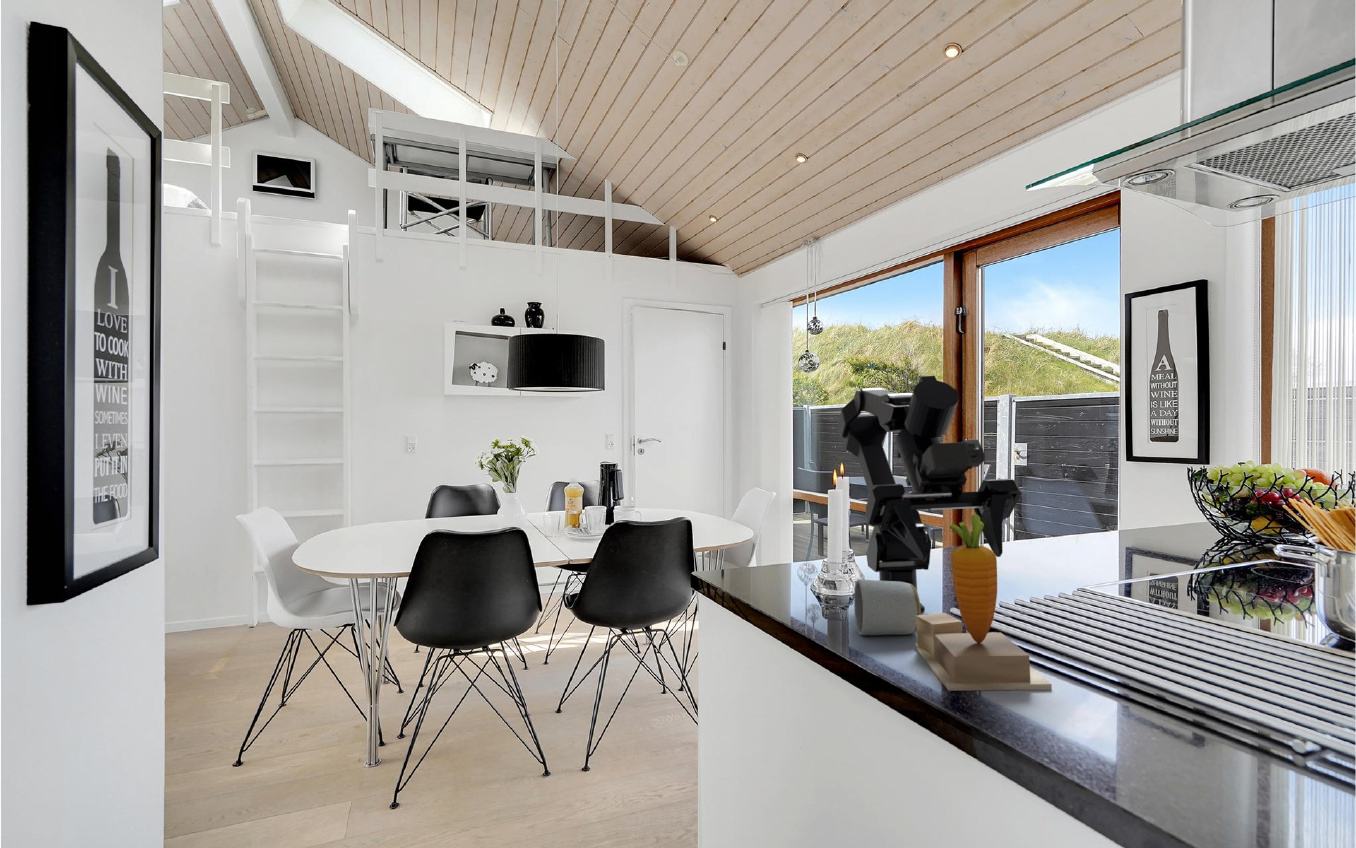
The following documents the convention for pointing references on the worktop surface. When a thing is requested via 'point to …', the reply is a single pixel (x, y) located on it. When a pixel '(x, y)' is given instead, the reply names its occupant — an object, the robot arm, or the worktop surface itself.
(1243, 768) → the worktop surface
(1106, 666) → the worktop surface
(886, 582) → the grey cylinder on side
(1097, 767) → the worktop surface
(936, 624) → the oak cube
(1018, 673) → the light brown square block
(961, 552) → the carrot
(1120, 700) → the worktop surface
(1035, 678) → the birch board
